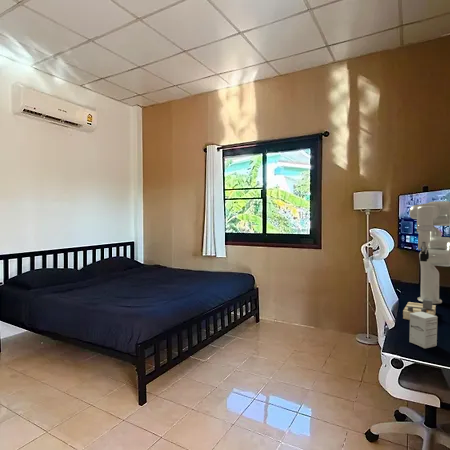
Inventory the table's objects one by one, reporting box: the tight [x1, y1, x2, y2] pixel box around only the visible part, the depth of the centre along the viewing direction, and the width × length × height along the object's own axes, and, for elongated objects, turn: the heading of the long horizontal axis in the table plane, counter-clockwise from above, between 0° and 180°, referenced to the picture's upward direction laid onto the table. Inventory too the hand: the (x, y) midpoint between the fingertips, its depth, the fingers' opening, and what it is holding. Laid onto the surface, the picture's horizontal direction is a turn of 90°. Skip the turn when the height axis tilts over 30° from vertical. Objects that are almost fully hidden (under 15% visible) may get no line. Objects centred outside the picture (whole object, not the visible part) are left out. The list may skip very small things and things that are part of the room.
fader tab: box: [422, 299, 433, 310], centre depth 172 cm, size 3×4×4 cm
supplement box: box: [408, 311, 438, 349], centre depth 138 cm, size 7×7×13 cm
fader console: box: [402, 301, 437, 321], centre depth 174 cm, size 20×13×6 cm, turn 144°
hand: (424, 260), depth 181 cm, fingers open, 9 cm apart
